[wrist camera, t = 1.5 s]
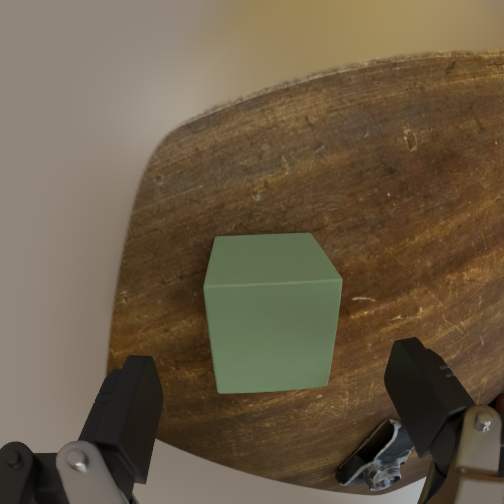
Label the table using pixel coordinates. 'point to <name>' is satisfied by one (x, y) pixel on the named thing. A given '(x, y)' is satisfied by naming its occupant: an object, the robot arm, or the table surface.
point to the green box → (271, 312)
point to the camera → (378, 457)
